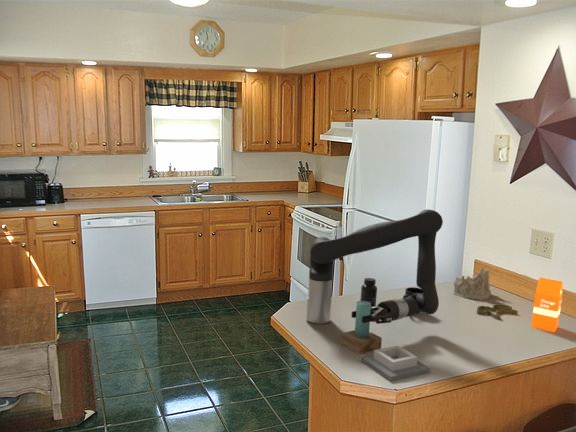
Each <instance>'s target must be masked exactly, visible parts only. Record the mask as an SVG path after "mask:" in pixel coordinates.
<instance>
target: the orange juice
mask: <svg viewBox="0 0 576 432" xmlns="http://www.w3.org/2000/svg"><path fill="white" fill-rule="evenodd" d="M563 287H564V286H563V281H562V280H556V279H552V278H551V279H550V278H547V277H546V278H545V277H539V278H538V283H537V286H536V289H535V296H534V303H533V310H532V319H531V325H530V326H531V328H535V329H539V330H544V331H548V332H551V333H555V332H556V331H557V329H558V328H559V322H560V315H561V309H562V301H563Z"/></svg>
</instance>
